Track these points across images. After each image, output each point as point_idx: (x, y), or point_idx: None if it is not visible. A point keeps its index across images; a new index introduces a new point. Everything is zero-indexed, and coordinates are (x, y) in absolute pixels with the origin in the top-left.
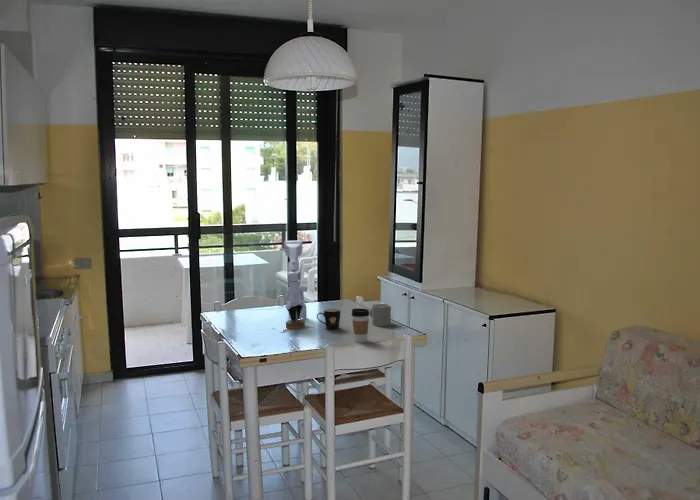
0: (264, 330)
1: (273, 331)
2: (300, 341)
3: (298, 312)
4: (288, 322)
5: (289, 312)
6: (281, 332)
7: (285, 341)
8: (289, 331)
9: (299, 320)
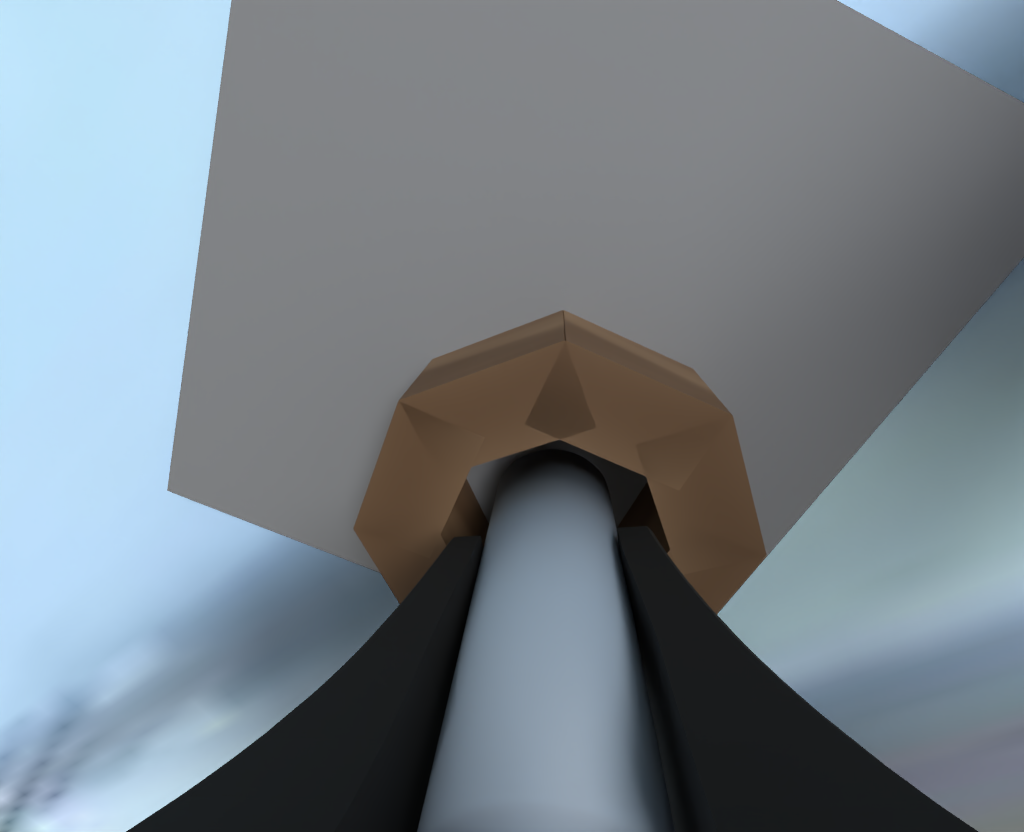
0: (51, 23)
1: (149, 277)
2: (127, 782)
3: (668, 792)
4: (419, 459)
5: (292, 739)
6: (175, 470)
7: (9, 688)
8: (295, 536)
9: (695, 557)
